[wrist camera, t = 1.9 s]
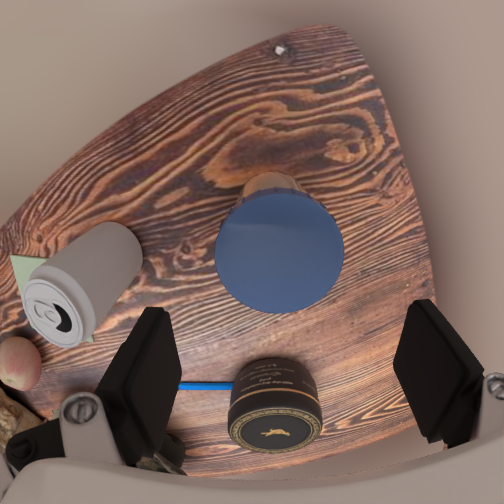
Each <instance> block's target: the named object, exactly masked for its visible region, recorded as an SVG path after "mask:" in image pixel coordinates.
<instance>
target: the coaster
mask: <svg viewBox="0 0 504 504" xmlns="http://www.w3.org/2000/svg"><path fill="white" fill-rule="evenodd" d="M10 257H11V261H12V266H13V269H14V273H15V277H16V281H17V284H18V288H19V291H20V294H21V298H22V290H23V287H24V286H25V284H26V283H27V282H28V280H29V277H30V275H31V273H32V272H33V271H34V270H35V269H36V268H37V267H39V266H40V265H41V264H43V263H44V262H45V261H47V260H48V259H49V258H41V257H31V256H22V255H13V254H12V255H10ZM29 322H30V321H29ZM30 324H31V323H30ZM31 327H32V328H34V327H33V325H32V324H31ZM34 329H35V328H34ZM85 341H87V342H91V343H93V342H94V339H93V335H91V336H90V338H89V339H87V340H85Z"/></svg>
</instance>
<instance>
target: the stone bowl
mask: <svg viewBox="0 0 504 504" xmlns="http://www.w3.org/2000/svg"><path fill="white" fill-rule="evenodd" d="M52 412H53V415H52V420H54V419H56V418H59V409H57V410H52ZM184 458H185V446H184V443H183V442H182V441H181V440H180V439H178V438H175V437H172V436H169V435H167V434H166V433H165V435H164V439H163V442H162V446H161V449H160V450H159V451H155V453H154V457H153V458H147V457H142V458H141V461H139V462H138V465H139V467H140V469H144V470H150V471H156V472H162V473H169V474H177V475H184V476H187V474H186V473H185V472H184V471H183V470H181V469H180V467H181V465H182V463H183V461H184Z"/></svg>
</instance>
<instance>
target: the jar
mask: <svg viewBox="0 0 504 504" xmlns="http://www.w3.org/2000/svg"><path fill="white" fill-rule="evenodd" d="M322 425H323V423H322V410H321V406H320V404H319V399H318V393H317V388H316V384H315V382H314V380H313V378H312V376H311V374H310V373H309V371H308V370H307V369H306V368H305V367H303V366H302V365H300V364H299V363H296V362H294V361H291V360H288V359H282V358H269V359H263V360H259V361H256V362H254V363H252V364H250V365H248V366H247V367H245V368H244V369H243V370H242V371H241V372H240V373H239V374H238V376H237V378H236V380H235V382H234V384H233V387H232V391H231V400H230V408H229V411H228V433H229V435H230V437H231V439H232V440H233V441H234V442H235V443H236V444H238V445H239V446H241V447H243V448H245V449H248V450H250V451H254V452H259V453H268V454H276V453H286V452H291V451H295V450H298V449H300V448H303V447H305V446H307V445H309V444H310V443H312V442H313V441H314V440H315V439H316V438H317V437H318V436H319V435H320V433H321V430H322Z"/></svg>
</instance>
